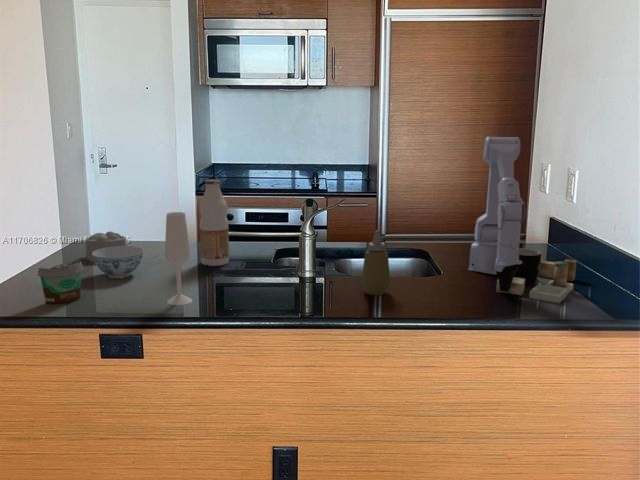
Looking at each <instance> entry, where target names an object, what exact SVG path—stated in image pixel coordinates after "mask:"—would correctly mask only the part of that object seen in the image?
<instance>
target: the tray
mask: <svg viewBox="0 0 640 480" xmlns="http://www.w3.org/2000/svg"><path fill="white" fill-rule="evenodd" d="M567 290H568V289H562V288H556V287H551V286H546V284H545V285H543V284H537V285H535V287H533V288H532V289H531V290H529V296H528V297H529V299H535V300H538V301H544V302H549V303H555V304H560V303H561V302H562V301H564V299H566V298H567V296H568V294H567Z"/></svg>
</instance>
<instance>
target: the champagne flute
mask: <svg viewBox="0 0 640 480" xmlns="http://www.w3.org/2000/svg"><path fill="white" fill-rule="evenodd" d="M165 216H166V219H165V220H166V221H165V243H164V244H165V245H164V257H165V259H166V260H167V262H169V264H171V265H172V266H173V267H175V271H176V273H175V274H176V292H177V293H176V295H174V296H172V297H171V298H170V299H168V300H167V302H166V303H167V304H168V305H172V306H183V305H188V304H191V303H192V302H193V299H192V298H191V297H188V296H187V295H184V294H183V292H182V290H183V289H182V273H181V272H182V268H181V267H182V266H184V264H186V263H187V262H188V261H189V259H190V257H191V255H192V254H191V246H190V239H189V233H188V225H187V219H186V213H185V212H183V211H182V212H180V211H174V212H168V213H166V215H165Z"/></svg>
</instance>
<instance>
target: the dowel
mask: <svg viewBox="0 0 640 480" xmlns="http://www.w3.org/2000/svg"><path fill="white" fill-rule="evenodd" d="M554 262H555V270H554V278H553V286H558V287H563V288H566V284H567V283H568V281H567V274H568V265H569V263H567V262H564V261H554Z"/></svg>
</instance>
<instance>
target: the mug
mask: <svg viewBox="0 0 640 480" xmlns="http://www.w3.org/2000/svg"><path fill="white" fill-rule="evenodd" d="M518 255H519V260H520V261H522V264H516V265H515V266H518V267H519V269H518V270H517V272H516V273H515V275H514V277H516V278H524V279H525V288H531V287H533V286H534V285H535V283H536V281H537V279H538V277H539V276H538V272H539V267H540V261H541V260H542V251H539V250H536V249H533V248H532V249H531V248H523V247H521V248H520V247H519V254H518Z"/></svg>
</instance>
